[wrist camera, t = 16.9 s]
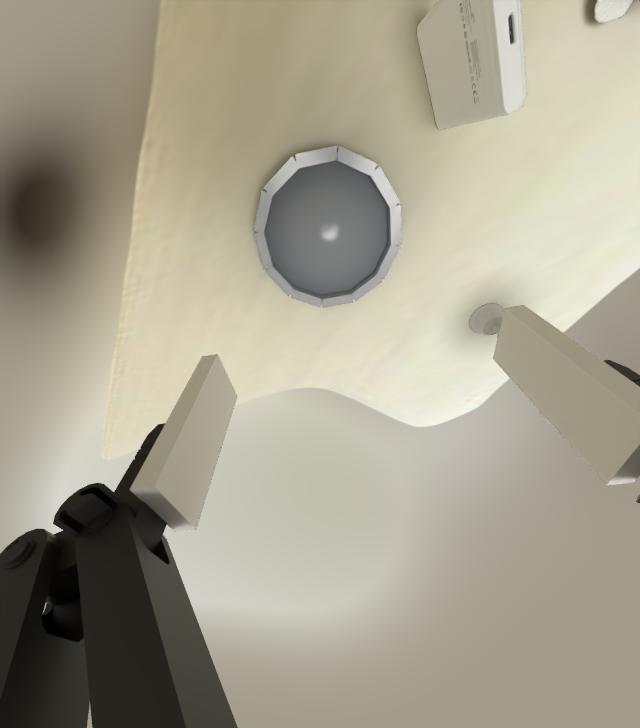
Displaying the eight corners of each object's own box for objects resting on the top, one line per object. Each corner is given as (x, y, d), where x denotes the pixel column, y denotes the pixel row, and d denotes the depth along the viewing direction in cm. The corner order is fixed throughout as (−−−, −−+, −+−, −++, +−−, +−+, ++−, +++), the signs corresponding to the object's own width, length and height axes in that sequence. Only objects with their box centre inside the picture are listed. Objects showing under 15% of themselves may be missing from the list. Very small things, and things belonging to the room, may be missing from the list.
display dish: (238, 166, 31) (234, 167, 29) (395, 133, 29) (401, 131, 27) (278, 307, 41) (277, 315, 39) (396, 287, 39) (401, 294, 37)
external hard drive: (432, 14, 25) (516, -84, 15) (453, 122, 29) (528, 103, 19) (414, 27, 25) (484, -60, 15) (437, 132, 29) (503, 118, 19)
